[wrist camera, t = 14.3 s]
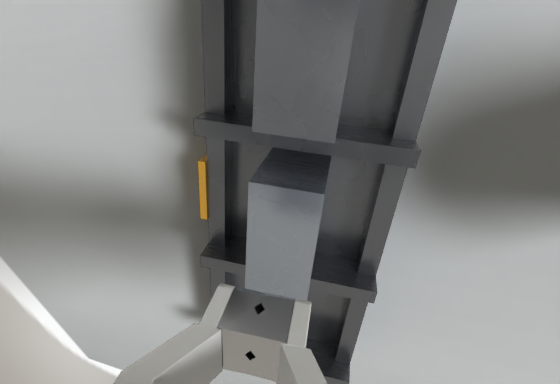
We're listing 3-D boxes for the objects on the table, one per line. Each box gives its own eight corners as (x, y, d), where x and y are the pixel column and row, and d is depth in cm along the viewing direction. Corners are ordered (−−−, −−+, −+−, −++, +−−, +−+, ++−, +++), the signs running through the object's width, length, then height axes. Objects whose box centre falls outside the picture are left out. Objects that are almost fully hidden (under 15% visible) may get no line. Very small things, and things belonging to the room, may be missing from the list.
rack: (211, -87, 14) (123, -159, 8) (464, -77, 12) (548, -157, 7) (218, 314, 25) (183, 387, 20) (347, 344, 24) (345, 432, 19)
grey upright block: (276, 142, 17) (248, 182, 12) (332, 150, 16) (324, 194, 12) (269, 234, 20) (244, 293, 15) (316, 243, 19) (305, 306, 15)
